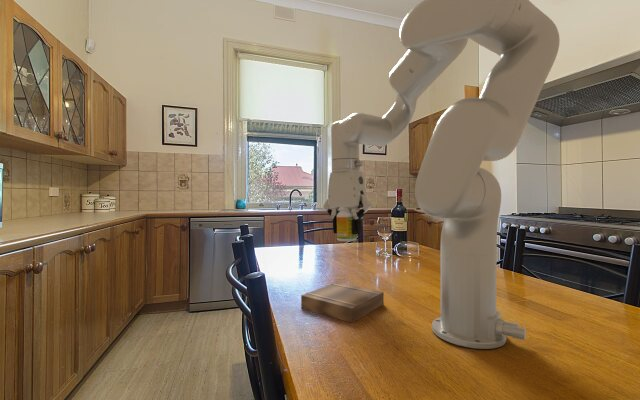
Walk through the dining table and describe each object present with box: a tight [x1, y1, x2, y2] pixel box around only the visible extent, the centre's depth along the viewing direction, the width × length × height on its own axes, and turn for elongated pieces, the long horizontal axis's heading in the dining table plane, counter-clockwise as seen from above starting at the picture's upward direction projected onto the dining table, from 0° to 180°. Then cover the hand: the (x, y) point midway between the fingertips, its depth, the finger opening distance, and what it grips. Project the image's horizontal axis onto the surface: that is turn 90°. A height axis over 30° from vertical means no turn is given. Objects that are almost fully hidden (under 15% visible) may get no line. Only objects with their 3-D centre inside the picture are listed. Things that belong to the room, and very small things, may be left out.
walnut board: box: [300, 282, 385, 323], centre depth 74 cm, size 14×14×3 cm
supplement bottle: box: [336, 207, 358, 242], centre depth 85 cm, size 5×5×10 cm
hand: (346, 232), depth 85 cm, fingers closed on supplement bottle, 5 cm apart
